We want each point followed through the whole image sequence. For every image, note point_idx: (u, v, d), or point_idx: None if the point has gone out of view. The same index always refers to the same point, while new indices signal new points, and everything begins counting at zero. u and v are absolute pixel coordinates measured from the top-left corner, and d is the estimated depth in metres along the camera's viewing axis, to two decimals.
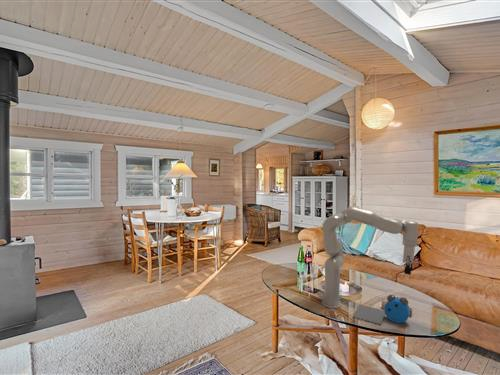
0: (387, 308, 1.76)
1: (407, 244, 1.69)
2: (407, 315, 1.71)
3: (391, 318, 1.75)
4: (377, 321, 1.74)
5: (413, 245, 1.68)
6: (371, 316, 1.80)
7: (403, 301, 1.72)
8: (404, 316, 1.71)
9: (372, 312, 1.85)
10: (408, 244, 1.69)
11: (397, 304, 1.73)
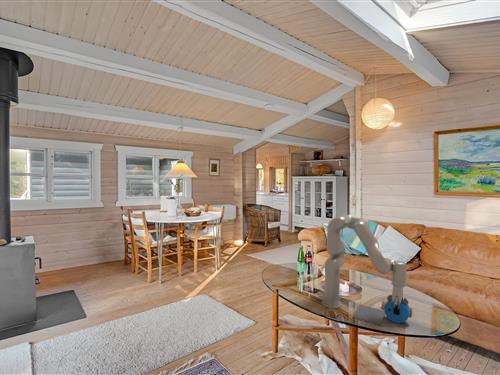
0: (387, 308, 1.76)
1: (396, 284, 1.73)
2: (407, 315, 1.71)
3: (391, 318, 1.75)
4: (377, 321, 1.74)
5: (401, 286, 1.72)
6: (371, 316, 1.80)
7: (403, 301, 1.72)
8: (404, 316, 1.71)
9: (372, 312, 1.85)
10: (397, 284, 1.72)
11: None
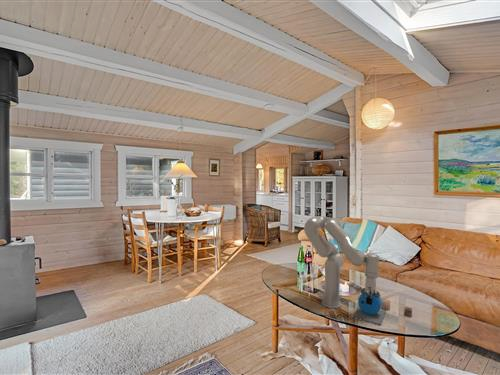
0: (361, 300, 1.84)
1: (368, 276, 1.81)
2: (379, 307, 1.78)
3: (364, 310, 1.83)
4: (377, 321, 1.74)
5: (374, 277, 1.80)
6: (371, 316, 1.80)
7: (375, 294, 1.80)
8: (376, 308, 1.79)
9: None
10: (369, 276, 1.80)
11: None
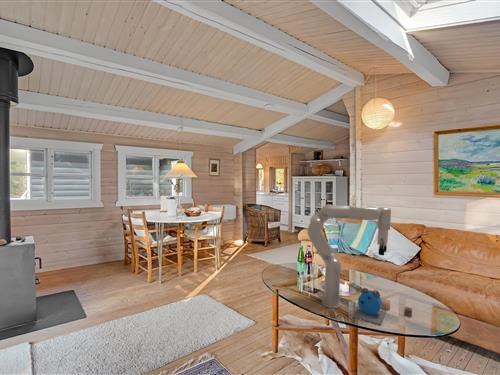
0: (361, 300, 1.84)
1: (381, 228, 1.87)
2: (379, 307, 1.78)
3: (364, 310, 1.83)
4: (377, 321, 1.74)
5: (386, 229, 1.86)
6: (371, 316, 1.80)
7: (375, 294, 1.80)
8: (376, 308, 1.79)
9: None
10: (382, 228, 1.87)
11: (369, 297, 1.81)
